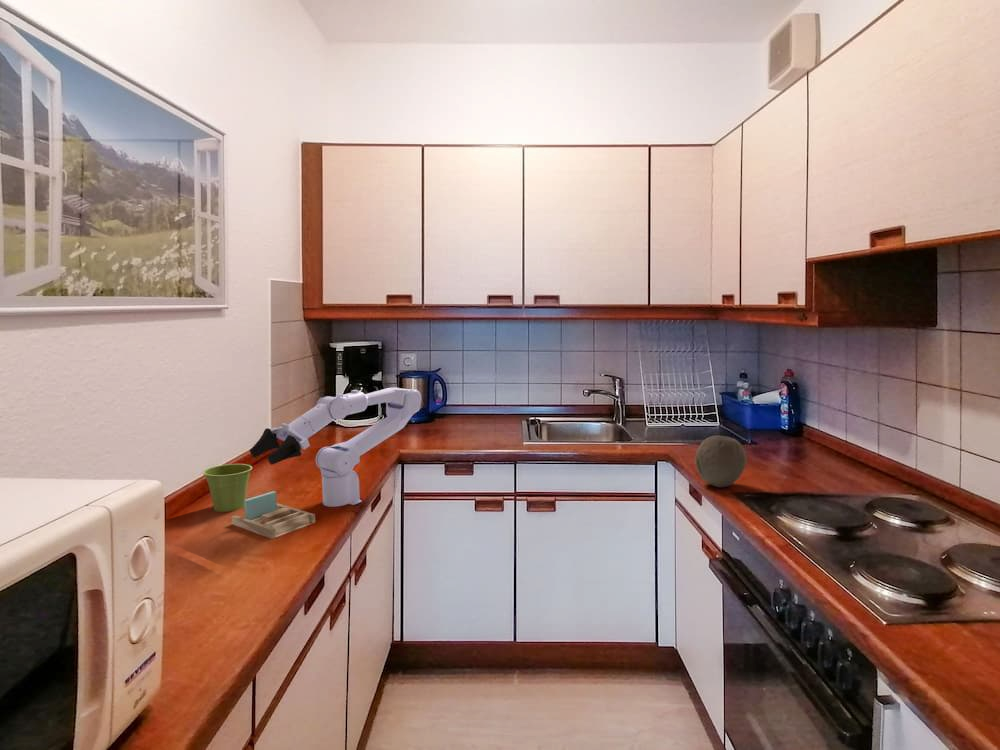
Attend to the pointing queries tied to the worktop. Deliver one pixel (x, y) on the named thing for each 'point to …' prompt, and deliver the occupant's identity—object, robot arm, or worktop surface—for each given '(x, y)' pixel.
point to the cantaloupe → (720, 460)
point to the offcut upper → (276, 514)
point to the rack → (276, 523)
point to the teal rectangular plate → (260, 505)
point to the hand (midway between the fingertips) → (260, 457)
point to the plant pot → (228, 486)
